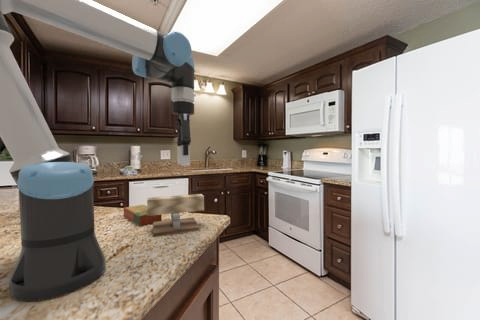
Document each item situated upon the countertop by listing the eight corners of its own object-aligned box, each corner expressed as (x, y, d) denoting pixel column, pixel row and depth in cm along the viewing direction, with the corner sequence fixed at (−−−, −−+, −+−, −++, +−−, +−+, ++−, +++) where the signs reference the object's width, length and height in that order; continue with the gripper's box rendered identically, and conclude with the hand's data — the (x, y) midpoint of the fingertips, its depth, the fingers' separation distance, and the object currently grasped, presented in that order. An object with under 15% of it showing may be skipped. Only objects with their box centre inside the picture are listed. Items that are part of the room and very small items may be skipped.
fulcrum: (199, 230, 74) (199, 214, 74) (153, 236, 69) (153, 219, 69) (193, 220, 85) (193, 205, 85) (153, 224, 80) (152, 209, 80)
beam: (147, 215, 72) (147, 200, 72) (147, 212, 76) (147, 197, 75) (204, 210, 78) (203, 195, 78) (201, 207, 82) (201, 193, 82)
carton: (144, 214, 95) (144, 203, 95) (162, 222, 84) (162, 211, 84) (123, 218, 89) (123, 207, 89) (139, 227, 78) (139, 215, 78)
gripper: (200, 94, 67) (200, 166, 68) (189, 109, 91) (189, 163, 91) (173, 92, 65) (174, 167, 65) (169, 108, 88) (170, 163, 89)
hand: (183, 164), depth 78 cm, fingers open, 13 cm apart
